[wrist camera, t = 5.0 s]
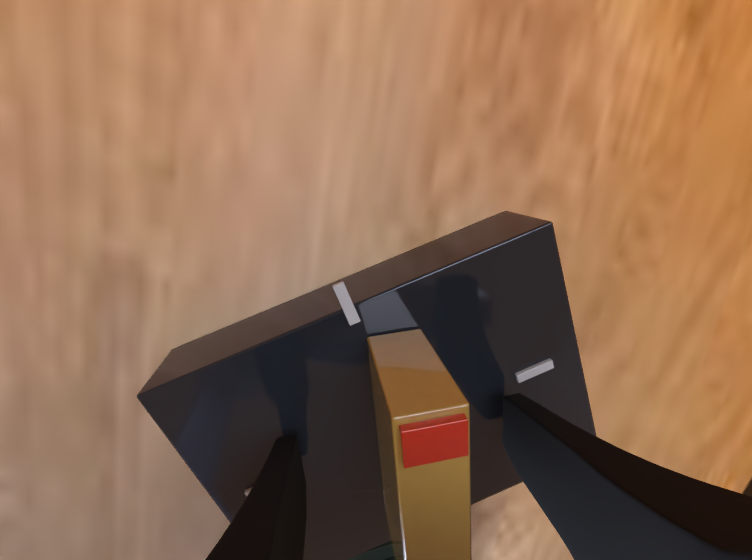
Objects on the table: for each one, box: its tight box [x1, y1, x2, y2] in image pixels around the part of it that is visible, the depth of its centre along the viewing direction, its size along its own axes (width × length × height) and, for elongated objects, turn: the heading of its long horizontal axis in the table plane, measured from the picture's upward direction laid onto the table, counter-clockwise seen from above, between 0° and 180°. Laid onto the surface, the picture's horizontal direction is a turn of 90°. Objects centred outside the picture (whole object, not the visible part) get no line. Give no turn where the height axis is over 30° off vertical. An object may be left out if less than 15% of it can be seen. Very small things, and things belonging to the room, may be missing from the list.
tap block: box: [137, 211, 596, 560], centre depth 14 cm, size 14×12×3 cm
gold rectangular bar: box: [367, 329, 471, 560], centre depth 11 cm, size 8×2×4 cm, turn 6°
